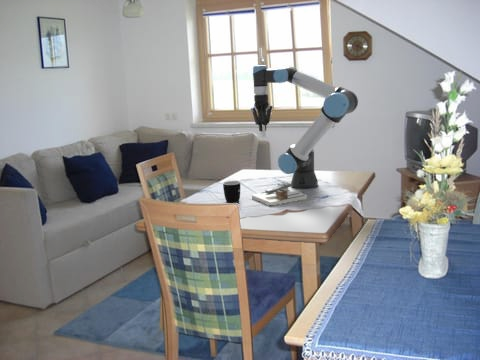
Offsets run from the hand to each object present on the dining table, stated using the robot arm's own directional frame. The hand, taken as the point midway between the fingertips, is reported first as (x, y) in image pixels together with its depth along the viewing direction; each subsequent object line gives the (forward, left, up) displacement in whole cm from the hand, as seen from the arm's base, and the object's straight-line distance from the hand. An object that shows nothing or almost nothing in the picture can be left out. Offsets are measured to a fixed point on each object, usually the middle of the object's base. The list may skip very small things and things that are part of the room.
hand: (263, 136), depth 311 cm
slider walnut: (+9, +31, -27) cm, 42 cm away
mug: (+27, +11, -30) cm, 42 cm away
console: (+6, +24, -29) cm, 38 cm away
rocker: (+6, +23, -24) cm, 34 cm away
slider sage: (-1, +17, -27) cm, 32 cm away
